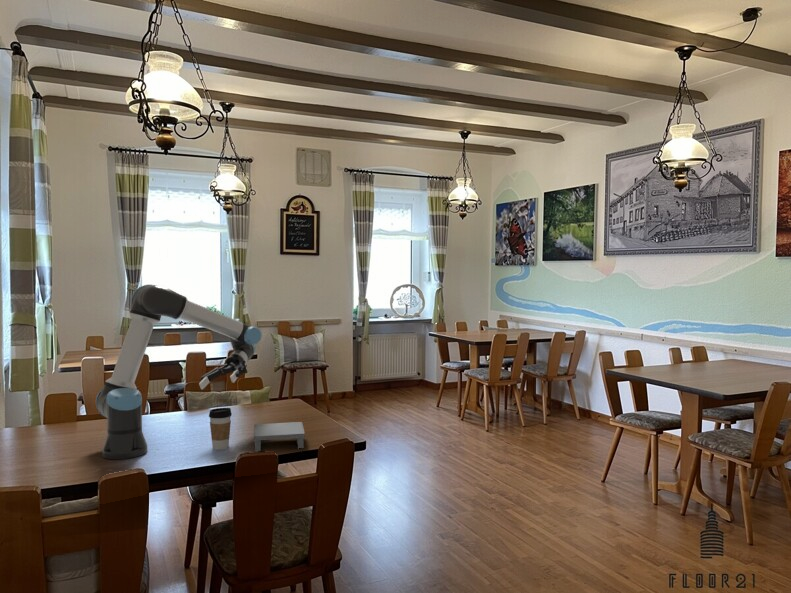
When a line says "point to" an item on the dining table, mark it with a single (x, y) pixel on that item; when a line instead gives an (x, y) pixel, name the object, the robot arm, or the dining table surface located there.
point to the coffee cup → (220, 427)
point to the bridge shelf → (278, 433)
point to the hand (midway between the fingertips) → (216, 383)
